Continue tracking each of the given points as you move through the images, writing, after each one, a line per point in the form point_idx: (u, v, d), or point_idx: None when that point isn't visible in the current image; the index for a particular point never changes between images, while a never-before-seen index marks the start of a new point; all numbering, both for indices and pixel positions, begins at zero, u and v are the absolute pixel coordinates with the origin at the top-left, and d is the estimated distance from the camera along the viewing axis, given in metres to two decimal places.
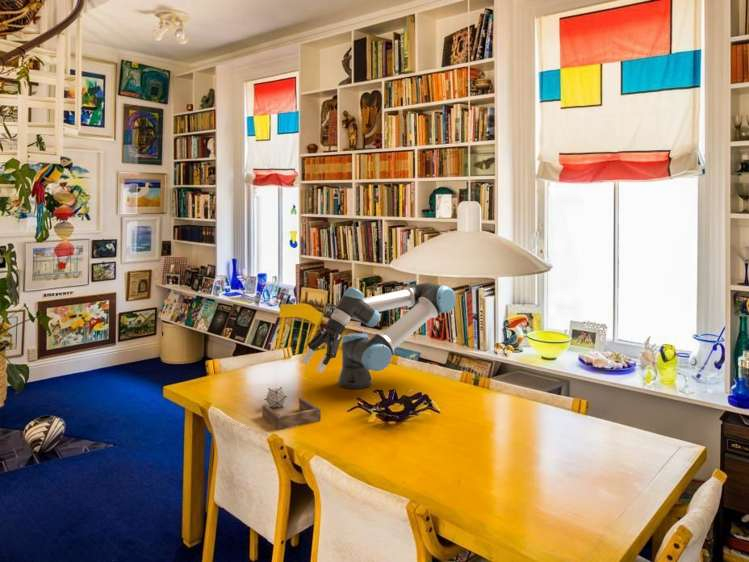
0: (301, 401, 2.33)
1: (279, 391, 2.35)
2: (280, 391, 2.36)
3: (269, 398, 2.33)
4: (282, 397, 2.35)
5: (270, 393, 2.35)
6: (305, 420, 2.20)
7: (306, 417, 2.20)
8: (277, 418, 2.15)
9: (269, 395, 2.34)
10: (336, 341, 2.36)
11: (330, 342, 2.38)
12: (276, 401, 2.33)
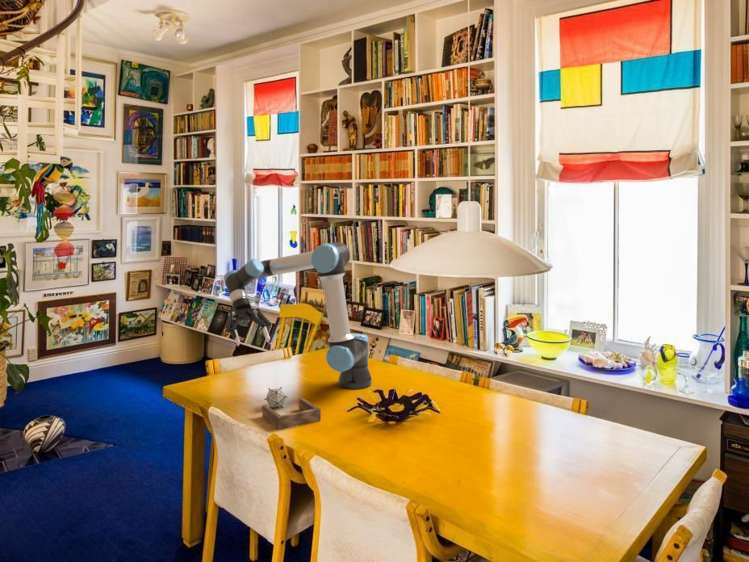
0: (301, 401, 2.33)
1: (279, 391, 2.35)
2: (280, 391, 2.36)
3: (269, 398, 2.33)
4: (282, 397, 2.35)
5: (270, 393, 2.35)
6: (305, 420, 2.20)
7: (306, 417, 2.20)
8: (277, 418, 2.15)
9: (269, 395, 2.34)
10: None
11: None
12: (276, 401, 2.33)
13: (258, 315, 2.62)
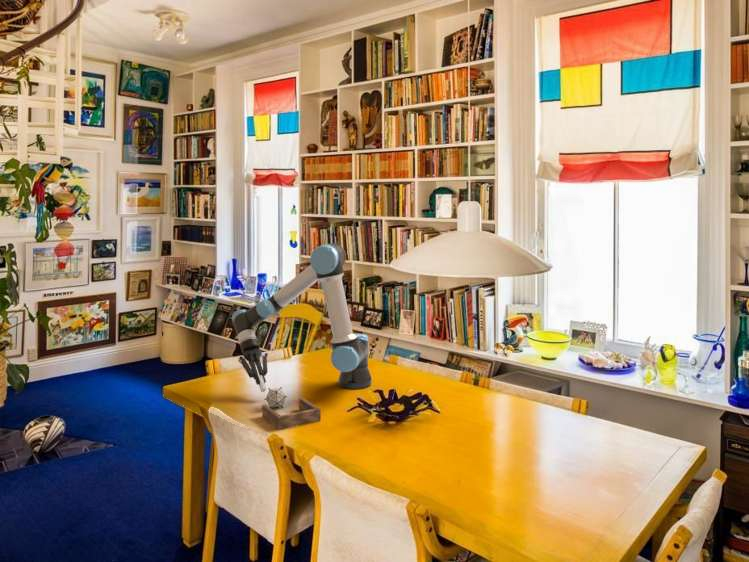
0: (301, 401, 2.33)
1: (279, 391, 2.35)
2: (280, 391, 2.36)
3: (269, 398, 2.33)
4: (282, 397, 2.35)
5: (270, 393, 2.35)
6: (305, 420, 2.20)
7: (306, 417, 2.20)
8: (277, 418, 2.15)
9: (269, 395, 2.34)
10: (243, 364, 2.49)
11: (250, 364, 2.51)
12: (276, 401, 2.33)
13: (263, 359, 2.54)
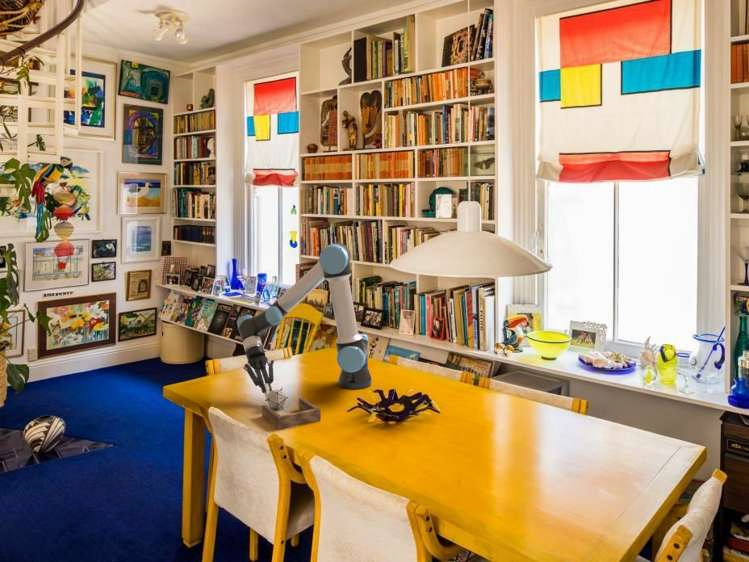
0: (301, 401, 2.33)
1: (280, 392, 2.34)
2: (281, 392, 2.35)
3: (270, 399, 2.32)
4: (283, 398, 2.33)
5: (271, 394, 2.33)
6: (305, 420, 2.20)
7: (306, 417, 2.20)
8: (277, 418, 2.15)
9: (270, 396, 2.33)
10: (248, 372, 2.43)
11: (256, 372, 2.44)
12: (277, 402, 2.31)
13: (269, 367, 2.47)
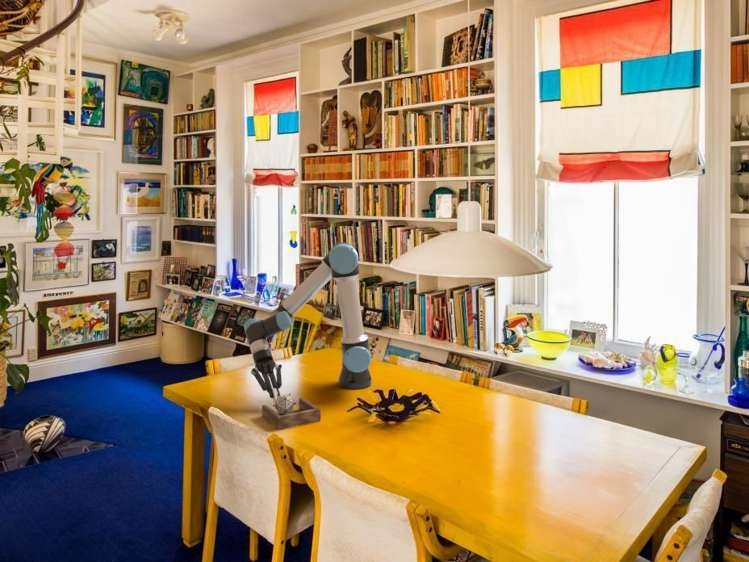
0: (301, 401, 2.33)
1: (288, 398, 2.28)
2: (289, 398, 2.28)
3: (277, 405, 2.26)
4: (291, 404, 2.27)
5: (279, 399, 2.27)
6: (305, 420, 2.20)
7: (306, 417, 2.20)
8: (277, 418, 2.15)
9: (277, 402, 2.26)
10: (256, 376, 2.36)
11: (263, 376, 2.38)
12: (284, 408, 2.25)
13: (277, 371, 2.41)
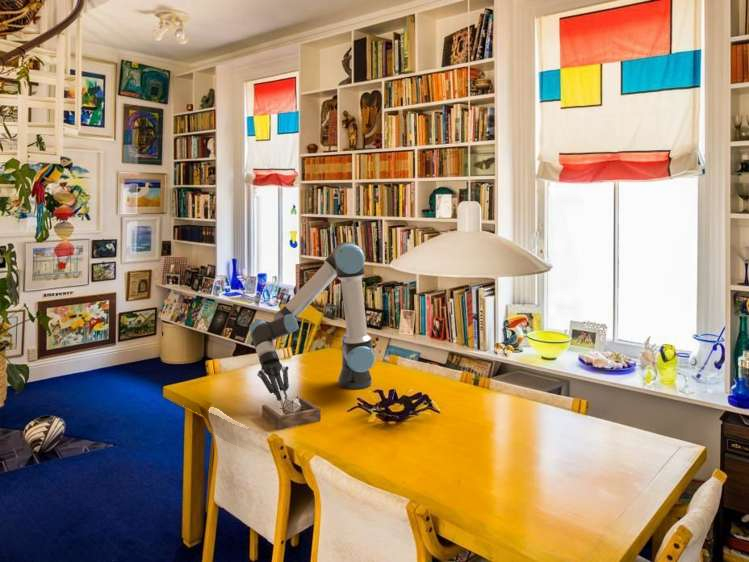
0: (301, 401, 2.33)
1: (295, 401, 2.24)
2: (296, 401, 2.25)
3: (285, 408, 2.22)
4: (298, 407, 2.23)
5: (286, 403, 2.23)
6: (305, 420, 2.20)
7: (306, 417, 2.20)
8: (277, 418, 2.15)
9: (285, 405, 2.23)
10: (262, 379, 2.33)
11: (270, 379, 2.35)
12: (292, 412, 2.22)
13: (283, 373, 2.38)
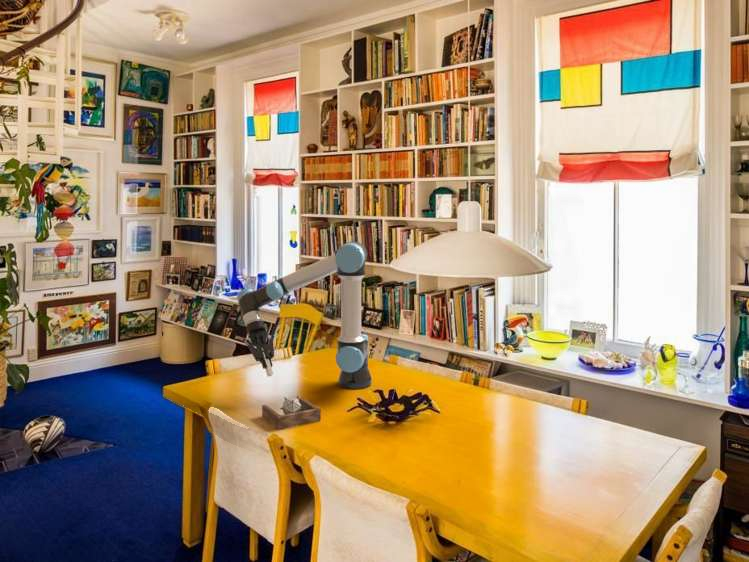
0: (301, 401, 2.33)
1: (295, 401, 2.24)
2: (296, 401, 2.25)
3: (285, 408, 2.22)
4: (298, 407, 2.23)
5: (286, 402, 2.24)
6: (305, 420, 2.20)
7: (306, 417, 2.20)
8: (277, 418, 2.15)
9: (285, 405, 2.23)
10: (249, 347, 2.45)
11: (256, 347, 2.47)
12: (292, 412, 2.22)
13: (269, 342, 2.50)
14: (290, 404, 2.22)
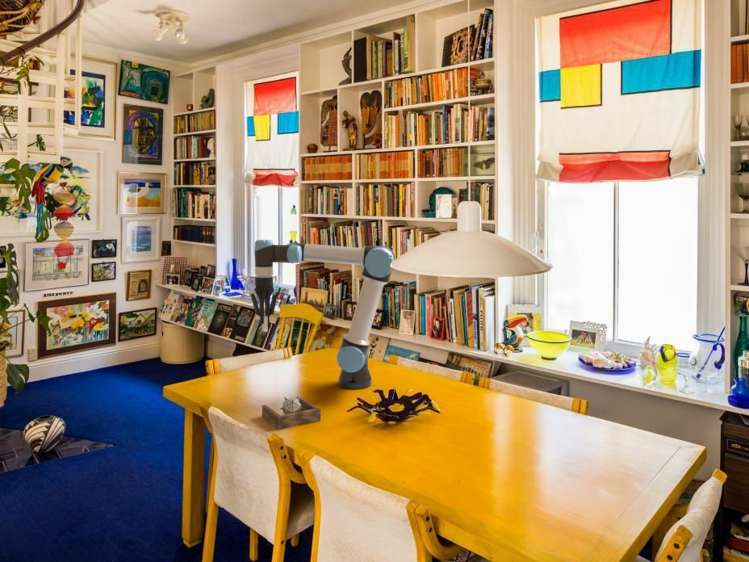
0: (301, 401, 2.33)
1: (295, 401, 2.24)
2: (296, 401, 2.25)
3: (285, 408, 2.22)
4: (298, 407, 2.23)
5: (286, 402, 2.24)
6: (305, 420, 2.20)
7: (306, 417, 2.20)
8: (277, 418, 2.15)
9: (285, 405, 2.23)
10: (252, 300, 2.50)
11: (259, 300, 2.52)
12: (292, 412, 2.22)
13: (273, 297, 2.55)
14: (290, 404, 2.22)
